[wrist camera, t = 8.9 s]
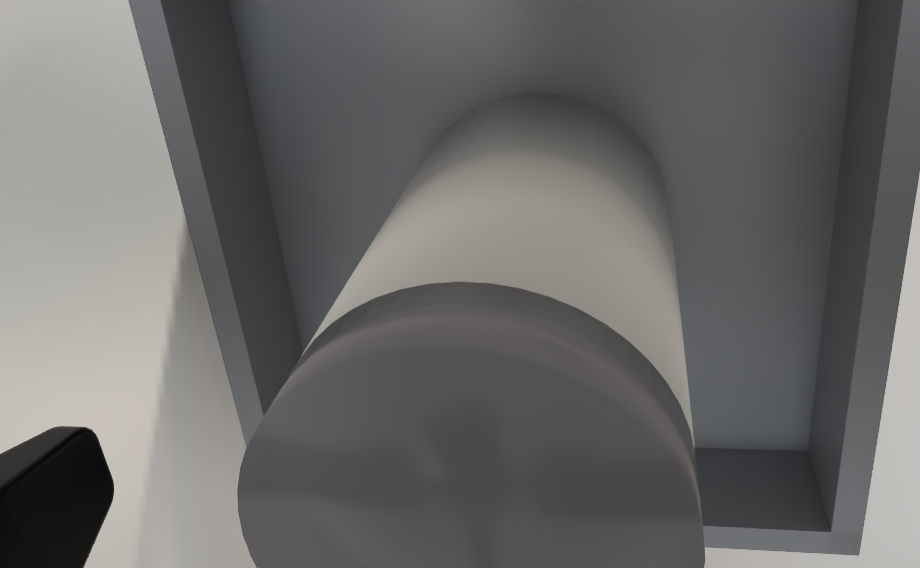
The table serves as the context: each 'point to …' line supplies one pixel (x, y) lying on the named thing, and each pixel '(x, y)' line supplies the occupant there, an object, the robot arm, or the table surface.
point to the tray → (668, 140)
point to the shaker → (494, 369)
